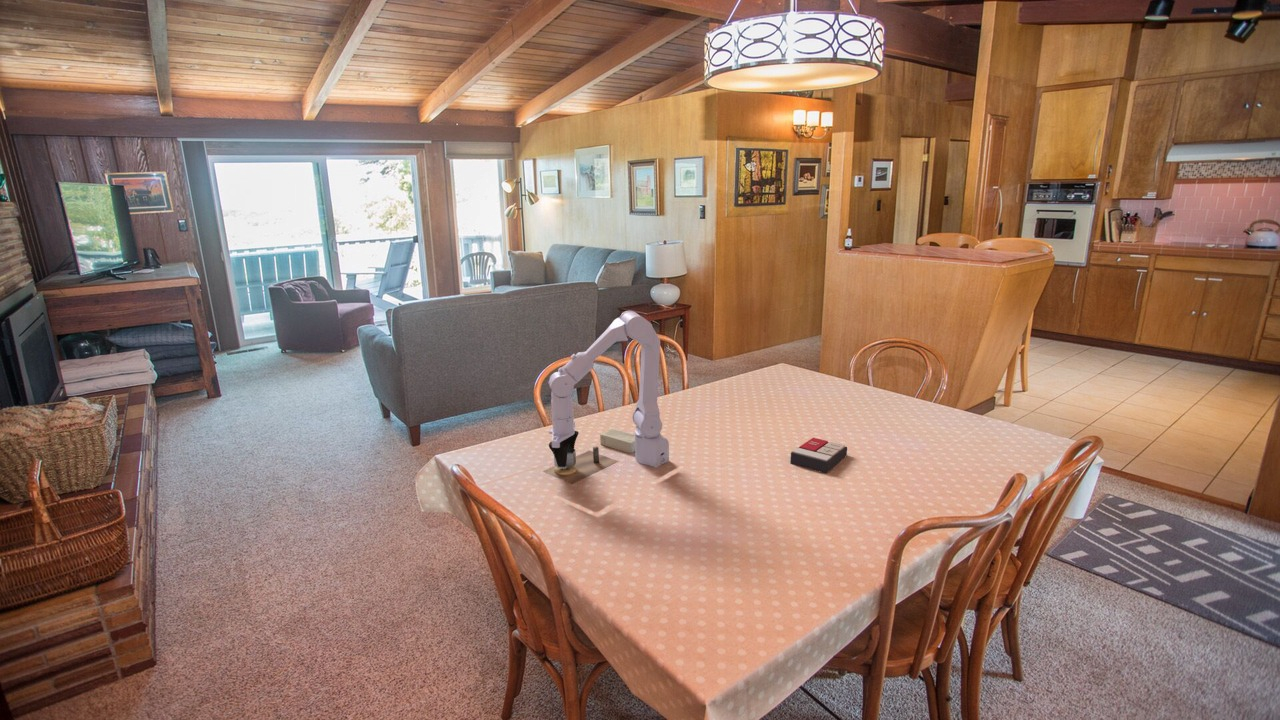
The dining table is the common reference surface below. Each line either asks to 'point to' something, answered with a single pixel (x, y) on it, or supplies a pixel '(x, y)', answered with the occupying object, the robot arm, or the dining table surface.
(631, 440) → the skincare box
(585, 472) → the board
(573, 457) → the collar
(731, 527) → the dining table surface
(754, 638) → the dining table surface
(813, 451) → the calculator
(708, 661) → the dining table surface
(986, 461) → the dining table surface
